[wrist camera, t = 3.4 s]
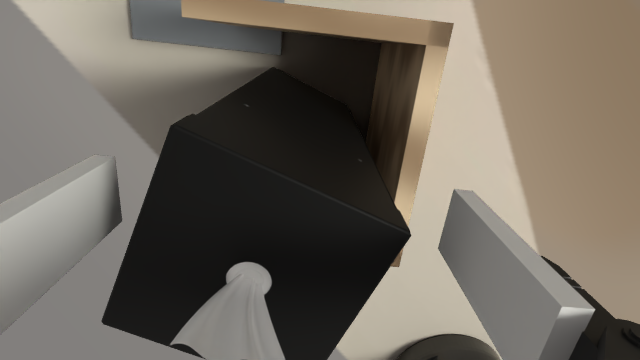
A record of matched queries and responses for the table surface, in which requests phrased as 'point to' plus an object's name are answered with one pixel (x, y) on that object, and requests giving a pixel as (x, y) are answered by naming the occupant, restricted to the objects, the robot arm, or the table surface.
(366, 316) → the table surface
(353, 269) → the black tall block
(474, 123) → the table surface
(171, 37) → the pad
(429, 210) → the table surface
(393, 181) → the holder
